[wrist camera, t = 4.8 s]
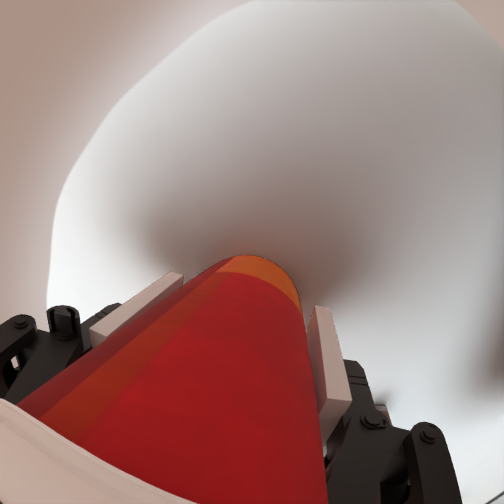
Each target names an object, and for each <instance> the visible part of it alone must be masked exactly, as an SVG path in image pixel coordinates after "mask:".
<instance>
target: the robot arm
mask: <svg viewBox="0 0 504 504" xmlns="http://www.w3.org/2000/svg"><path fill="white" fill-rule="evenodd" d="M183 277H184V275H182V274H178V273H175V272H171V271H170V272H169V273H167V274H166V275H164V276H163V277H161V278H160V279H159V280H157V281H156V282H154V283H153V284H151V285H150V286H148V287H147V288H145V289H144V290H142V291H141V292H140V293H138V294H137V295H135V296H134V297H132V298H131V299H130V300H128V301H127V302H125V303H124V304H120V303H115V304H112V305H108V306H107V307H105V308H104V309H102V310H101V311H100V312H98V313H96V314H95V315H94V316H92V317H90V318H89V319H87V320H86V321H84V322H83V323H81V324H80V316H79V312H78V310H76V309H75V308H73V307H71V306H65V305H60V306H55V307H52V308H50V309H48V310H47V311H46V312H47V318H48V324H49V329H50V332H46V331H42V330H38V329H37V326H36V322H35V319H34V318H33V317H32V316H29V315H23V314H20V315H17V316H14V317H12V318H10V319H9V320H7V321H6V322H4V323H3V324H1V325H0V398H1V399H4V400H6V401H8V402H10V403H11V404H13V405H16V404H18V403H19V402H20V401H22V400H23V399H24V398H26V397H27V396H29V395H30V394H31V393H33V392H34V391H35V390H37V389H38V388H39V387H41V386H42V385H43V384H45V383H46V382H48V381H49V380H50V379H52V378H53V377H54V376H56V375H57V374H59V373H60V372H61V371H63V370H64V369H66V368H67V367H68V366H70V365H71V364H72V363H74V362H75V361H77V360H78V359H79V358H81V357H82V356H84V355H85V354H86V353H88V352H89V351H91V350H92V349H93V348H95V347H96V346H98V345H99V344H100V343H102V342H103V341H105V340H106V339H107V338H109V337H110V336H112V335H113V334H114V333H116V332H117V331H119V330H120V329H121V328H123V327H124V326H126V325H127V324H128V323H130V322H131V321H133V320H134V319H136V318H137V317H138V316H140V315H141V314H143V313H144V312H146V311H147V310H148V309H150V308H151V307H153V306H154V305H155V304H157V303H158V302H160V301H161V300H163V299H164V298H166V297H167V296H168V295H170V294H171V293H173V292H174V291H176V290H177V289H179V288H180V287H182V286H183ZM306 336H307V342H308V348H309V354H310V360H311V366H312V372H313V379H314V386H315V393H316V400H317V407H318V414H319V422H320V430H321V438H322V446H323V448H324V446H325V445H326V449H327V454H326V455H325V457H324V464H325V474H326V484H327V496H328V504H462V499H461V495H460V490H459V486H458V482H457V478H456V474H455V470H454V467H453V463H452V460H451V456H450V453H449V450H448V447H447V444H446V441H445V437H444V435H443V433H442V431H441V430H440V429H439V428H438V427H437V426H436V425H434V424H432V423H428V422H420V423H417V424H416V425H414V427H413V428H412V429H411V430H410V431H409V430H405V429H401V428H397V427H394V426H391V425H390V421H389V420H388V418H387V416H386V415H385V414H383V413H382V412H381V411H379V410H377V409H376V408H375V405H374V402H373V398H372V395H371V391H370V388H369V386H368V382H367V379H366V375H365V372H364V369H363V368H362V367H361V366H360V364H359V363H358V362H357V361H352V360H345V359H343V357H342V353H341V349H340V345H339V341H338V337H337V333H336V329H335V325H334V321H333V318H332V314H331V310H330V308H327V307H322V306H317V305H315V307H314V311H313V314H312V317H311V321H310V324H309V327H308V330H307V333H306ZM15 356H16V359H17V362H18V365H19V366H18V367H16V368H14V367H13V365H12V362H11V359H12V358H13V357H15ZM0 504H3V503H2V502H1V501H0Z"/></svg>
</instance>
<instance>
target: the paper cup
mask: <svg viewBox="0 0 504 504" xmlns="http://www.w3.org/2000/svg"><path fill="white" fill-rule="evenodd" d="M0 501H1V502H2V503H3V504H328V496H327V484H326V474H325V464H324V455H323V446H322V438H321V430H320V422H319V414H318V407H317V400H316V393H315V386H314V379H313V372H312V366H311V360H310V354H309V348H308V342H307V336H306V330H305V325H304V320H303V314H302V309H301V305H300V301H299V297H298V293H297V290H296V288H295V286H294V284H293V282H292V280H291V279H290V277H289V276H288V275H287V273H286V272H285V271H284V270H283V269H282V268H280V267H279V266H278V265H276V264H275V263H273V262H271V261H270V260H267V259H265V258H262V257H258V256H253V255H239V256H234V257H230V258H227V259H225V260H222V261H220V262H218V263H217V264H215V265H213V266H212V267H210V268H208V269H207V270H205V271H204V272H202V273H201V274H199V275H198V276H196V277H195V278H193V279H192V280H190V281H189V282H187V283H186V284H184V285H183V286H182V287H180V288H179V289H177V290H176V291H174V292H173V293H171V294H170V295H168V296H167V297H166V298H164V299H163V300H161V301H160V302H158V303H157V304H155V305H154V306H153V307H151V308H150V309H148V310H147V311H146V312H144V313H143V314H141V315H140V316H138V317H137V318H136V319H134V320H133V321H131V322H130V323H128V324H127V325H126V326H124V327H123V328H121V329H120V330H119V331H117V332H116V333H114V334H113V335H112V336H110V337H109V338H107V339H106V340H105V341H103V342H102V343H100V344H99V345H98V346H96V347H95V348H93V349H92V350H91V351H89V352H88V353H86V354H85V355H84V356H82V357H81V358H79V359H78V360H77V361H75V362H74V363H72V364H71V365H70V366H68V367H67V368H66V369H64V370H63V371H61V372H60V373H59V374H57V375H56V376H54V377H53V378H52V379H50V380H49V381H48V382H46V383H45V384H43V385H42V386H41V387H39V388H38V389H37V390H35V391H34V392H33V393H31V394H30V395H29V396H27V397H26V398H24V399H23V400H22V401H20V402H19V403H18V404H16V405H13V404H11V403H10V402H8V401H6V400H4V399H1V398H0Z"/></svg>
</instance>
